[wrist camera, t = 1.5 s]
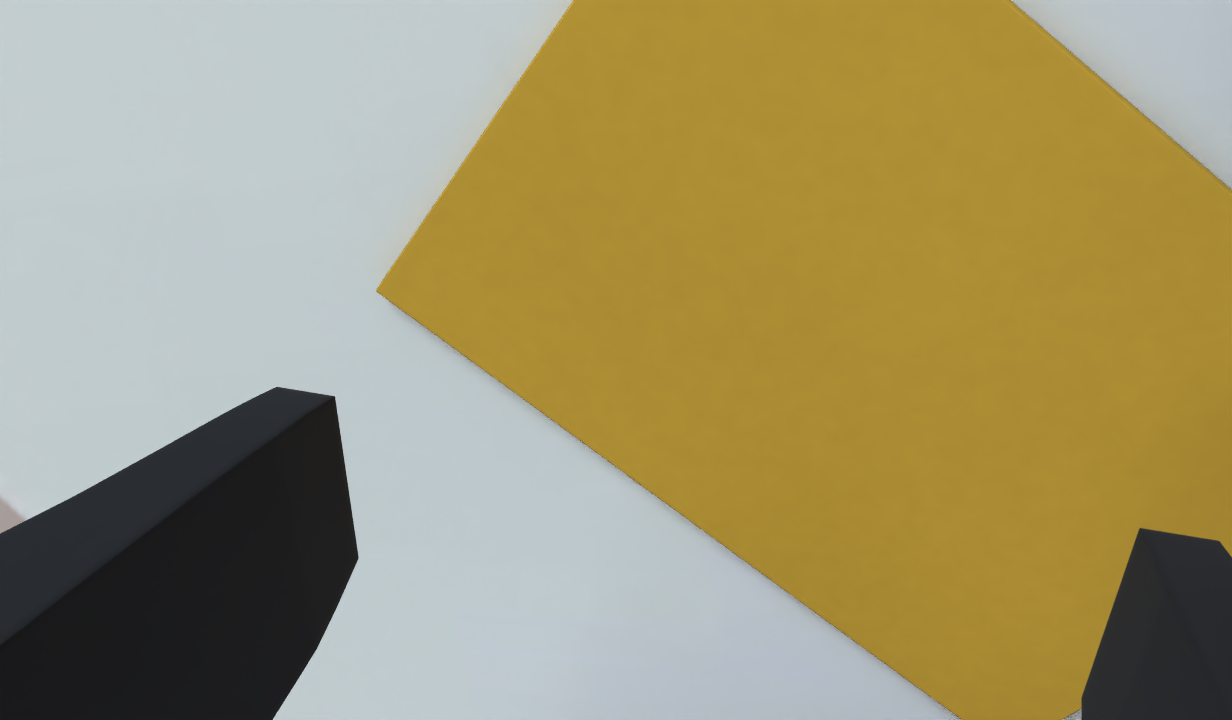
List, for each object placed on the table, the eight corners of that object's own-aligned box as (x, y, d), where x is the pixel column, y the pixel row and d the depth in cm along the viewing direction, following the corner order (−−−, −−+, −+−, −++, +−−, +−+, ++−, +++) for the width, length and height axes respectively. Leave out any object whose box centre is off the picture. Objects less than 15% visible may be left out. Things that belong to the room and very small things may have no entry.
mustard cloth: (1527, 443, 18) (1535, 454, 18) (1004, 740, 24) (1005, 752, 24) (736, -236, 16) (732, -234, 16) (381, 283, 22) (374, 291, 22)
